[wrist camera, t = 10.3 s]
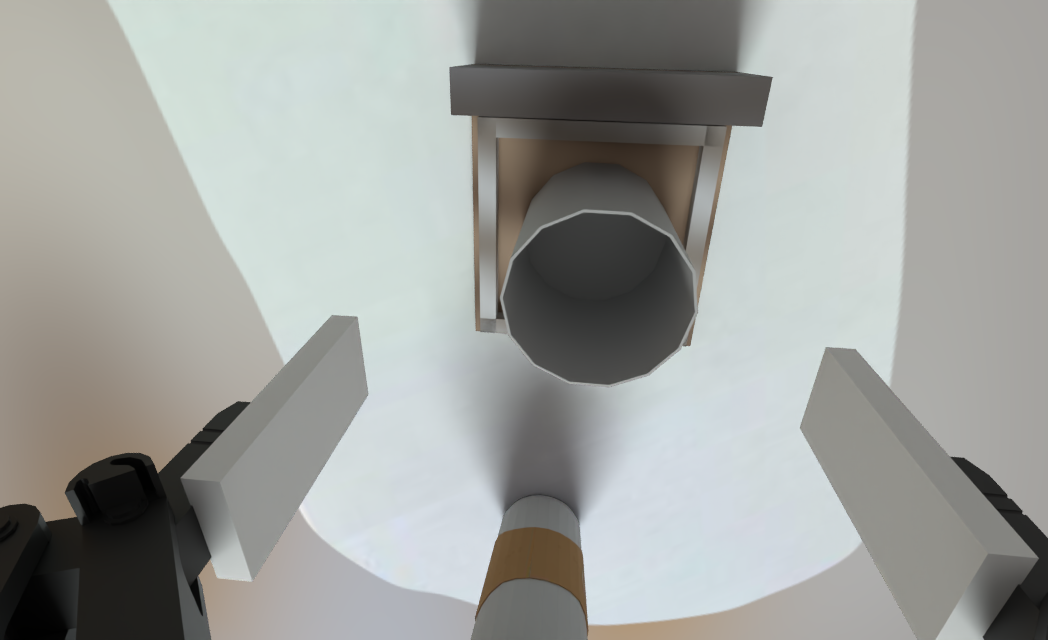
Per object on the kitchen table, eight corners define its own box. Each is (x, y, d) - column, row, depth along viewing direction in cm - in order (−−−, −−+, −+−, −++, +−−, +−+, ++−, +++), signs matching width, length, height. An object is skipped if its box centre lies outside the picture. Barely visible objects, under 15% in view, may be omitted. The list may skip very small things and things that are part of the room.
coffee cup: (577, 565, 46) (573, 775, 33) (483, 543, 46) (441, 743, 33) (604, 497, 42) (612, 702, 29) (501, 472, 42) (463, 667, 29)
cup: (677, 167, 30) (717, 217, 21) (656, 302, 33) (681, 393, 24) (526, 158, 30) (501, 204, 21) (521, 292, 34) (498, 377, 25)
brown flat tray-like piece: (474, 64, 29) (449, 67, 24) (737, 71, 28) (772, 77, 23) (478, 323, 36) (460, 370, 31) (687, 338, 35) (705, 389, 30)
